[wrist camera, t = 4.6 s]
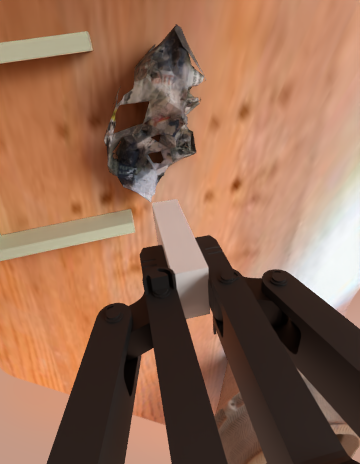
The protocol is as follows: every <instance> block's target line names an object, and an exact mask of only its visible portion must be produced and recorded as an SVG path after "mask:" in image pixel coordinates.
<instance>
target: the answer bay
mask: <svg viewBox="0 0 360 464" xmlns="http://www.w3.org/2000/svg"><path fill="white" fill-rule="evenodd" d="M88 51H93V48H92V44H91V39H90V35H89V33H88V32H87V31H85V32H78V33H70V34H63V35H55V36H48V37H40V38H32V39H25V40H17V41H10V42H2V43H0V64H2V63H10V62H17V61H24V60H31V59H38V58H45V57H52V56H59V55H67V54H74V53H81V52H88ZM134 232H135V227H134V221H133V216H132V212H131V209H127V210H123V211H118V212H113V213H108V214H103V215H98V216H93V217H88V218H83V219H78V220H74V221H69V222H64V223H59V224H54V225H49V226H44V227H39V228H34V229H30V230H25V231H20V232H15V233H10V234H5V235H1V234H0V261H3V260H8V259H13V258H17V257H22V256H27V255H31V254H36V253H41V252H45V251H50V250H55V249H59V248H64V247H69V246H73V245H78V244H83V243H87V242H92V241H97V240H101V239H106V238H111V237H115V236H120V235H125V234H129V233H134Z"/></svg>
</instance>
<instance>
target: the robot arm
mask: <svg viewBox="0 0 360 464" xmlns="http://www.w3.org/2000/svg"><path fill="white" fill-rule="evenodd" d="M152 208H153V214H154V221H155V228H156V235H157V241H158V246H152V247H147V248H143V249H142V251H141V253H140V260H141V266H142V273H143V280H142V281H143V285H144V290H145V292H144V294H143V296H142V297H141V298H140V299H139V300H138V301H137V302H135V303H134V304H132V305H130V306H127V305H125V304H123V303H114V304H110V305H108V306H106V307H104V308H103V309H102V310H101V311H100V312H99V314H98V315H97V318H96V321H95V324H94V327H93V330H92V332H91V335H90V338H89V341H88V344H87V347H86V350H85V353H84V356H83V359H82V362H81V365H80V368H79V370H78V373H77V376H76V379H75V382H74V385H73V388H72V391H71V394H70V397H69V400H68V403H67V406H66V409H65V411H64V415H63V417H62V420H61V423H60V426H59V429H58V432H57V435H56V438H55V441H54V444H53V447H52V450H51V452H50V455H49V458H48V461H47V464H124V463H125V456H126V450H127V444H128V437H129V431H130V425H131V418H132V412H133V406H134V399H135V393H136V387H137V380H138V374H139V368H140V361H141V355H142V354H143V353H145V352H147V351H149V350H150V349H152V348H154V353H155V360H156V366H157V372H158V379H159V385H160V392H161V398H162V405H163V411H164V417H165V424H166V430H167V436H168V443H169V449H170V456H171V462H172V464H228V462H227V459H226V456H225V452H224V449H223V445H222V442H221V438H220V435H219V432H218V428H217V425H216V421H215V418H214V414H213V411H212V408H211V404H210V401H209V397H208V394H207V390H206V387H205V384H204V380H203V377H202V373H201V370H200V366H199V363H198V360H197V356H196V353H195V349H194V346H193V342H192V339H191V336H190V332H189V329H188V325H187V322H186V319H188V318H193V317H197V316H202V315H206V314H210V308H211V310H212V313H213V332H214V334H216V331H217V334H218V336H219V339H220V341H221V344H222V347H223V349H224V352H225V354H226V357H227V360H228V362H229V365H230V368H231V370H232V373H233V375H234V378H235V381H236V383H237V386H238V389H239V391H240V394H241V396H242V399H243V402H244V404H245V407H246V410H247V412H248V415H249V417H250V420H251V423H252V425H253V428H254V431H255V433H256V436H257V438H258V441H259V444H260V446H261V449H262V451H263V454H264V457H265V459H266V462H267V464H360V463H358V462H357V461H355V460H353V459H352V458H351V457H350V456H349V455H348V454H347V452H346V451H345V449H344V448H343V446H342V444H341V443H340V441H339V439H338V438H337V436H336V434H335V433H334V431H333V429H332V427H331V426H330V424H329V422H328V421H327V419H326V417H325V416H324V414H323V412H322V410H321V409H320V407H319V405H318V404H317V402H316V400H315V399H314V397H313V395H312V393H311V392H310V390H309V388H308V387H307V385H306V383H305V382H304V380H303V378H302V376H301V375H300V373H299V371H300V372H301V373H302V374H303V375H304V377H305V378H306V379H307V380H308V381H309V382H310V383H311V384H312V385H313V387H314V388H315V389H316V390H317V391H318V392H319V393H320V394H321V395H322V397H323V398H324V399H325V400H326V401H327V402H328V403H329V404H330V405H331V407H332V408H333V409H334V410H335V411H336V412H337V413H338V414H339V416H340V417H341V418H342V419H343V420H344V421H345V422H346V423H347V424H348V426H349V427H350V428H351V429H352V430H353V431H354V432H355V433H356V434H357V436H358V437H359V438H360V329H359V328H358V327H357V326H355V325H354V324H353V323H352V322H350V321H349V320H348V319H346V318H345V317H344V316H343V315H341V314H340V313H339V312H338V311H336V310H335V309H334V308H333V307H331V306H330V305H329V304H328V303H326V302H325V301H324V300H323V299H321V298H320V297H319V296H318V295H316V294H315V293H314V292H313V291H311V290H310V289H309V288H307V287H306V286H305V285H304V284H302V283H301V282H300V281H299V280H297V279H296V278H295V277H294V276H292V275H291V274H289V273H288V272H286V271H283V270H274V269H273V270H269V271H267V272H265V273H264V274H263V276H262V278H247V277H243V276H242V275H241V274H240V273H239V272H238V271H236V270H234V269H232V267H231V265H230V263H229V261H228V260H227V258H226V256H225V254H224V253H223V252H222V249H221V247H220V246H219V244H218V242H217V240H216V239H214V238H213V237H211V236H210V235H208V236H202V237H197V238H195V237H194V235H193V233H192V231H191V229H190V226H189V224H188V222H187V220H186V218H185V216H184V213H183V211H182V209H181V207H180V205H179V203H178V200H177V199H173V200H167V201H161V202H155V203H152ZM297 369H298V370H299V371H298V370H297Z"/></svg>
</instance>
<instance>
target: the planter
mask: <svg viewBox="0 0 360 464" xmlns="http://www.w3.org/2000/svg"><path fill="white" fill-rule="evenodd" d="M297 370H298V369H297ZM298 371H299V370H298ZM299 373H300V375H301V376H302V378H303V380H304V382H305V383H306V385H307V387H308V388H309V390H310V392H311V393H312V395H313V397H314V399H315V400H316V402H317V404H318V405H319V407H320V409H321V410H322V412H323V414H324V416H325V417H326V419H327V421H328V422H329V424H330V426H331V427H332V429H333V431H334V433H335V434H336V436H337V438H338V439H339V441H340V443H341V444H342V446H343V448H344V449H345V451H346V452H347V454H348V455H349V456H350V457H351V458H352V457H353V456H354V454H355V452H356V450H357V449H358V448H359V446H360V438H359V437H358V436H357V434H356V433H355V432H354V431H353V430H352V429H351V428H350V427H349V426H348V424H347V423H346V422H345V421H344V420H343V419H342V418H341V417H340V416H339V414H338V413H337V412H336V411H335V410H334V409H333V408H332V407H331V405H330V404H329V403H328V402H327V401H326V400H325V399H324V398H323V397H322V395H321V394H320V393H319V392H318V391H317V390H316V389H315V388H314V387H313V385H312V384H311V383H310V382H309V381H308V380H307V379H306V378H305V377H304V375H303V374H302V373H301V372H300V371H299ZM214 418H215V421H216V425H217V428H218V432H219V435H220V438H221V442H222V445H223V449H224V452H225V456H226V459H227V462H228V464H267V462H266V459H265V457H264V454H263V451H262V449H261V446H260V444H259V441H258V438H257V436H256V433H255V431H254V428H253V425H252V423H251V420H250V417H249V415H248V412H247V410H246V407H245V404H244V402H243V399H242V396H241V394H240V391H239V389H238V386H237V383H236V381H235V378H234V375H233V373H232V370H231V368H230V365H229V362H227V367H226V372H225V377H224V381H223V385H222V390H221V394H220V401H219V404H218V407H217V410H216V414H215V416H214Z"/></svg>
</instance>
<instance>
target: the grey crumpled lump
mask: <svg viewBox="0 0 360 464" xmlns="http://www.w3.org/2000/svg"><path fill="white" fill-rule="evenodd" d="M155 45H156V44H155ZM155 45H154V46H153V47H152V48H151V49H150V50H149V51H148V53H147V54H146V55H145V56H144V57H143V58H142V59H141V61H140V62H139V63H138V64H137V65H136V67H135V73H134V88H133V89H132V90H131V91H129V92H128V93H127V94H125V95H124V96H123V99H122V100H121V101H120V102H119V103H118V104H117V101H116V106H115V109H114V112H113V115H112V118H111V120H110V123H109V126H108V129H107V132H106V134H105V138H104V142H105V144H106V146H107V155H108V168H109V172H110V173H112V174H113V175H115V176H117V177H118V178H119V180H120V182H121V184H122V185H123V187H125V188H127V189H130V190H132V191H135V192H137V193H138V194H140V195H141V196H142V197H144V198H145V199H147V200H148V201H150V202H151V198H152V196H153V195H154V194H155V188H156V185H157V183H158V182H159V180H160V179H161V177H162V176H163V175H164V173H165V171H166V169H167V168H168V167H169V166H170V165H172V164H173V163H175V162H177V161H178V160H180V159H183V158H185V157H188V156H191V155H193V154H195V153H196V149H195V143H194V136H193V131H190V130H189V129H188V127H187V124H188V123H187V121H188V119H187V116H186V115H187V114H188V113H189V112H190V111H191V110H193V109H194V108H195V107H196V106H197V105H198V104H200V103H199V102H198V101H200V100H201V99H200V100H198V97H197V98H194V97H193V96H192V95H191V94H190V89H191V88H192V86H197V85H199V84H200V83H201V82H202V81H203V79H204V76H205V75H204V74H203V75H204V76H203V75H202V74H201V73H199V72H198V71H197V70H195V69H194V67H193V66H192V65H191V61H190V57H189V54H190V56H191V57H192V59H193V60H194V62H195V63H196V65H197V66H198V67H199V65H198V63H197V61H196V59H195V57H194V55H193V53H192V51H191V49H190V47H189V45H188V43H187V41H186V38H185V36H184V34H183V31H182V29H181V27H179V26H178V25H177V24H176V26H175V27H174V28H173V29H172V30H171V31H170V33H169V34H168V35H167V36H166V37H165V39H164V40H163V41H162V42H161V43H160V44H159V45H158V46H157V47H155ZM154 47H155V48H154ZM199 69H200V67H199ZM200 70H201V69H200ZM201 72H202V71H201ZM202 73H203V72H202ZM205 80H206V79H205ZM119 89H120V88H119ZM118 91H119V90H118ZM117 94H118V92H117ZM116 96H117V99H118V95H116ZM115 99H116V98H115ZM147 101H150V102H149V105H148V109H147V112H146V116H145V119H144V122H143V124H139V125H136V126H133V127H130V128H128V129H125V130H122V131H119V132H117V133H114V134H113V132H114V129H115V126H116V120H115V113H116V111H117V109H118V107H119V105H122V104H130V103H138V102H147ZM113 104H114V103H113ZM186 123H187V124H186ZM185 124H186V125H185ZM159 134H161V135H160V140H159V142H157V141H156V140H154V139H152V138H151V137H152V136H156V135H159ZM120 141H121V144H120V146H119V148H118V150H117V152H116V154H117V156H118V159H114V158H113V154H114V153H112V152H113V151H114V150H115V148H116V147H117V145H118V144H119V142H120ZM185 146H187V147H185ZM158 151H161V153H162V156H163V159H164V160H163V161H162V162H161V163H153V162H152V160H151V159H150V157H149V155H148V154H149V153H154V152H158Z"/></svg>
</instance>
